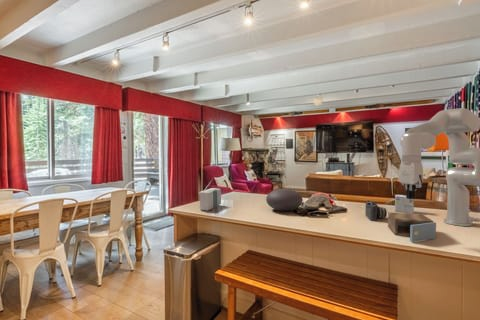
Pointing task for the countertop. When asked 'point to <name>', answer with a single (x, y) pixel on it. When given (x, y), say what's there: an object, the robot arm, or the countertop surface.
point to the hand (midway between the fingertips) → (410, 198)
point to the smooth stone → (284, 199)
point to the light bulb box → (404, 204)
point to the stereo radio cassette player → (210, 198)
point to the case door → (422, 231)
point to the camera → (374, 211)
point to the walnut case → (405, 222)
